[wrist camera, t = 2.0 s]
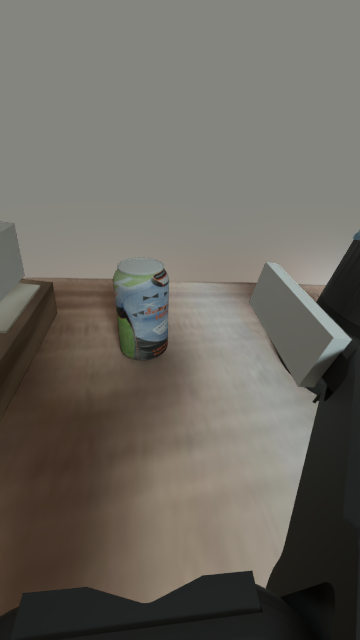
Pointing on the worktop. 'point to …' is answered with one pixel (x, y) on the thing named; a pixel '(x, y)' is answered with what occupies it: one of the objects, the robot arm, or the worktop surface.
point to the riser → (22, 331)
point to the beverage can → (142, 307)
